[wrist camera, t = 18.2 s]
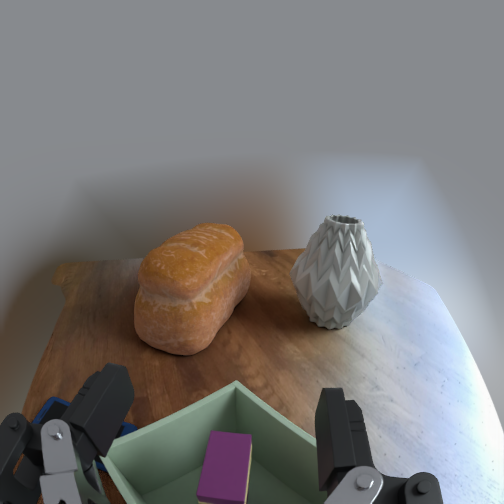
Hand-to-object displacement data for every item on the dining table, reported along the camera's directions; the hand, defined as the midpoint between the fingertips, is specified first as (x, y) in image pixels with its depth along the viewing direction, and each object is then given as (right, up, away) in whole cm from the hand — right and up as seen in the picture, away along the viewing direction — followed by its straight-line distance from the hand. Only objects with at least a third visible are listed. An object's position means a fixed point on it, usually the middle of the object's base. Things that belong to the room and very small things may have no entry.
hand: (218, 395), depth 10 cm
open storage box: (-1, -18, +7) cm, 20 cm away
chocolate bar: (0, -18, +7) cm, 19 cm away
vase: (+16, -7, +41) cm, 44 cm away
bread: (-8, -6, +41) cm, 43 cm away
